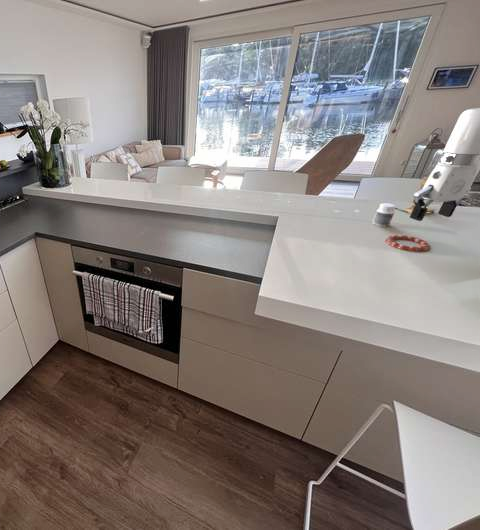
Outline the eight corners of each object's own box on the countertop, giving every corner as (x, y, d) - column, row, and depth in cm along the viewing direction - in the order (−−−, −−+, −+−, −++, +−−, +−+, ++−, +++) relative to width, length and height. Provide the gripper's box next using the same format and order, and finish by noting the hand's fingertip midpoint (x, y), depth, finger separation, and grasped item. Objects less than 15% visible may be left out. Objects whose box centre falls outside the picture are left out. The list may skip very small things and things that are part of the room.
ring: (437, 251, 88) (440, 245, 87) (407, 256, 87) (410, 250, 86) (404, 237, 97) (406, 232, 96) (376, 242, 96) (378, 236, 95)
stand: (434, 212, 112) (451, 178, 105) (414, 215, 111) (430, 181, 104) (412, 205, 119) (426, 173, 112) (393, 208, 118) (406, 176, 112)
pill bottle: (388, 230, 102) (398, 207, 98) (372, 228, 105) (380, 206, 100) (387, 225, 106) (396, 203, 102) (370, 223, 108) (378, 202, 104)
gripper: (446, 165, 75) (417, 225, 84) (504, 158, 76) (469, 218, 85) (417, 160, 81) (392, 216, 90) (470, 153, 83) (441, 210, 91)
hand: (429, 217), depth 87 cm, fingers open, 9 cm apart
